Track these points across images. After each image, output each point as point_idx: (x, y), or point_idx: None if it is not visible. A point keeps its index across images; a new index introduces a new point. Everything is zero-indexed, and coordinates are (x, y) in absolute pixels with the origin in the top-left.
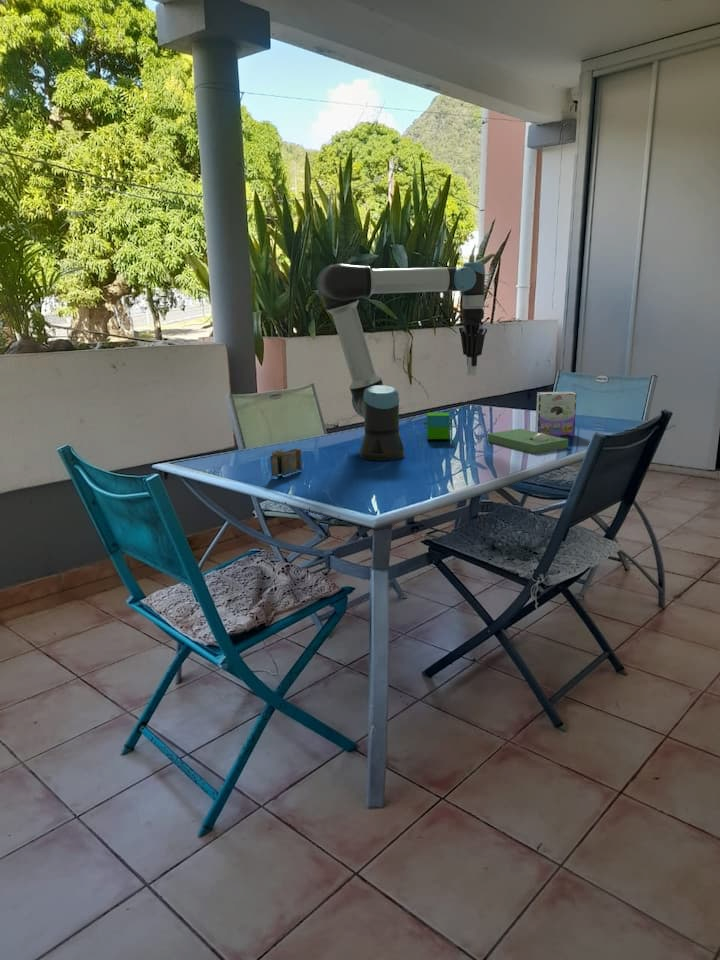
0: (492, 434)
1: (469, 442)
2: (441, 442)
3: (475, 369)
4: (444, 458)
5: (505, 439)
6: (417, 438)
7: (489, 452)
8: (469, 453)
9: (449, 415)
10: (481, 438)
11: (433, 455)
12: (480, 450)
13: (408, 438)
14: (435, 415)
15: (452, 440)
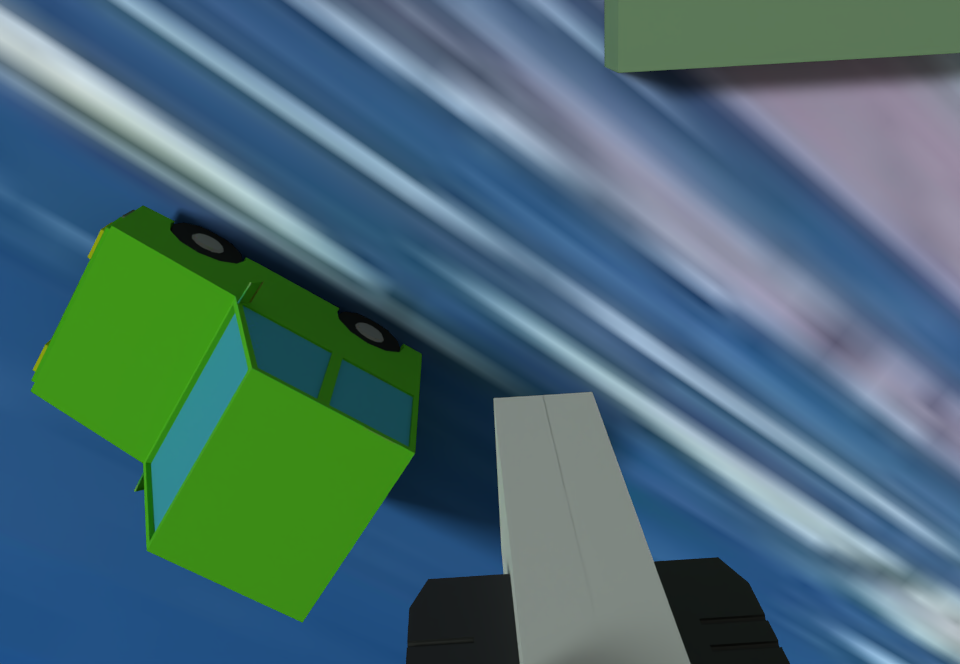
0: (678, 56)
1: (536, 219)
2: None
3: (617, 475)
4: (829, 627)
5: (873, 55)
6: None
7: (910, 298)
8: (834, 433)
9: (412, 452)
10: (457, 21)
11: None
12: (816, 315)
13: None
14: (333, 558)
15: (391, 293)
